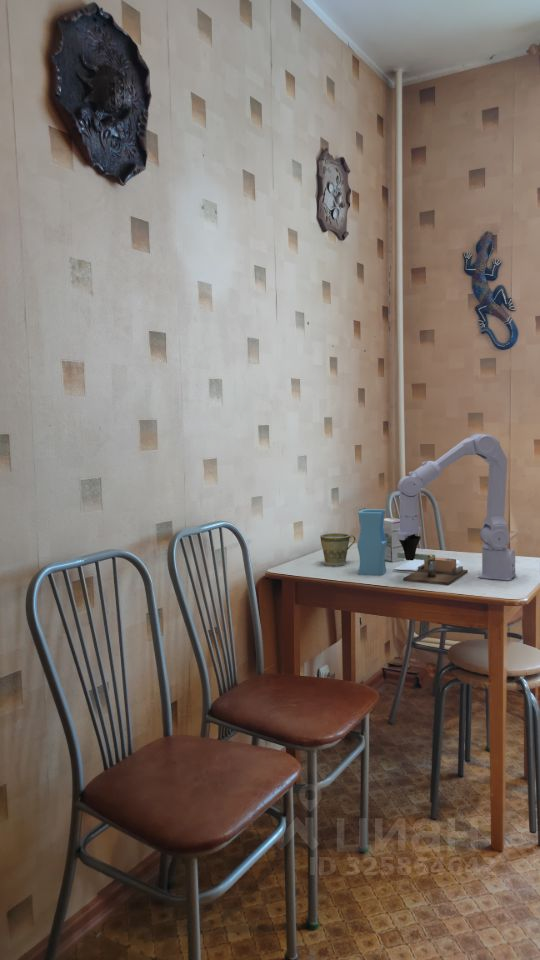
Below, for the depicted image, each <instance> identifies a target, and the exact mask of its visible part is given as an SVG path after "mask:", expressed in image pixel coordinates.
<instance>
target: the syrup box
mask: <svg viewBox="0 0 540 960" xmlns="http://www.w3.org/2000/svg"><path fill="white" fill-rule="evenodd" d="M383 528H384V534H385V537H386V540H387V545H386V550H385V562H392V563H396V562H401V561H402V562H403V561H404V558H397V553H398V552H403V553H404V550H403V547H402V545H401V543H400V541H399V540H398V533H399V532H396V530H397V529H400V518H396V517H386V518H385V517H384V523H383Z"/></svg>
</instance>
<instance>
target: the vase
mask: <svg viewBox="0 0 540 960" xmlns="http://www.w3.org/2000/svg"><path fill="white" fill-rule="evenodd" d="M386 512H387V509H376V508H375V509H371V508H370V509H369V508H368V509H367V508H364V509H360V510H359V511H358V512H357V514H358V519H359V525H360V529H359V530H360V531H359V537H358V540H357V547H356V548H357V550H358V555H359V566H358V567H359V568H358V572H357V575H359V576H361V575H363V576H379V577H380V576H384V575H385V573H386V572H387V567H386V561H385V550H386V545H387V540H386V537H385V534H384V528H383V523H384V519H385V516H386Z"/></svg>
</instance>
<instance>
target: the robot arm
mask: <svg viewBox="0 0 540 960" xmlns="http://www.w3.org/2000/svg"><path fill="white" fill-rule="evenodd" d="M475 455H476V456H479V457H480V458H481V459H483V460H484V461H485V463H487V465H488V478H487V479H488V480H487V481H488V482H487V483H488V484H487V497H486V498H487V499H486V515H485V518H484V519H483V524H482V527H481V529H480V531H479V532H480V533H479V538H480V540H481V541H482V542H483V544H481V545H482V546H481V558H482V559H481V564H482V565H481V567H482V569H481V571H482V572H481V573H480V574H479V575H478V576H477V578H479V579H490V580H499V581H500V580H501V581H511V580H512V579H513V578H515V577H516V575H517V574H516V553H515V550H514V549H510V548H508V545H509V543H510V535H509V533H508V524H507V522H506V520H505V511H506V508H505V507H506V493H507V492H506V489H507V472H508V471H507V470H508V458H507V456H506V454H505V452H504V450H503V449H502V446H501V443H500V441H499V439H497V438H496V437H494V436H493V435H491V434H488V433H473V434H472V435H470V436H469V437H467V438H465V439H463V440H461V442H459V443H458V444H456V445H455V446H454V447H452V448H451V449H450V450H448V451H447V452H445V453H444V454H443V455H441V457H438V458H437V460H434V461H433V460H428V461H423V462H422V463H421V466H419V467H418V468H416V469H415V470H414V471H409V472H408V475H406V476H403V477H401V478H400V479H399V481H398V483H397V486H396V487H397V490H398V491H399V519H400V529H397V530H396V532H399V533H398V540H399V541H400V543H401V545H402V547H403V553H404V554H405V558H406V559H405V560H406V561H414V560H415V559H414V557H415V554H417V553H416V551H417V548H418V546H419V545H418V544H419V542H420V540H421V535H417V534H422V527H421V526H420V506H419V505H420V501H419V495H420V492H421V490H422V488H423V489H424V488H425V487H426V486H428V485H429V484H432V482H434V481H435V480H437V479H438V478H439V477H441V474H442V473H441V472H442V471H443V470H444V469H445V468H447V467H448V466H450V465H452V464H454V462H456V461H458V460H460V459H461V458H463V457H464V456H465V457H466V456H475Z"/></svg>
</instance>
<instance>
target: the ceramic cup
mask: <svg viewBox="0 0 540 960" xmlns="http://www.w3.org/2000/svg"><path fill="white" fill-rule="evenodd" d="M319 537H320V543H321V547H322V551H323V556H324V562H325V565H326V566H328V567H329V566H330V567H340V566H344V565H346V563H347V555H348V550H350V548H351V546H352V545H354V544H355V542H356V536H355V535H353V534H351V535H350V534H348V533H343V532H341V533H340V532H332V533H331V532H329V533H328V532H327V533H322V534H320V536H319ZM351 538H353V542H352V543H351V544H350V539H351Z"/></svg>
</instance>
